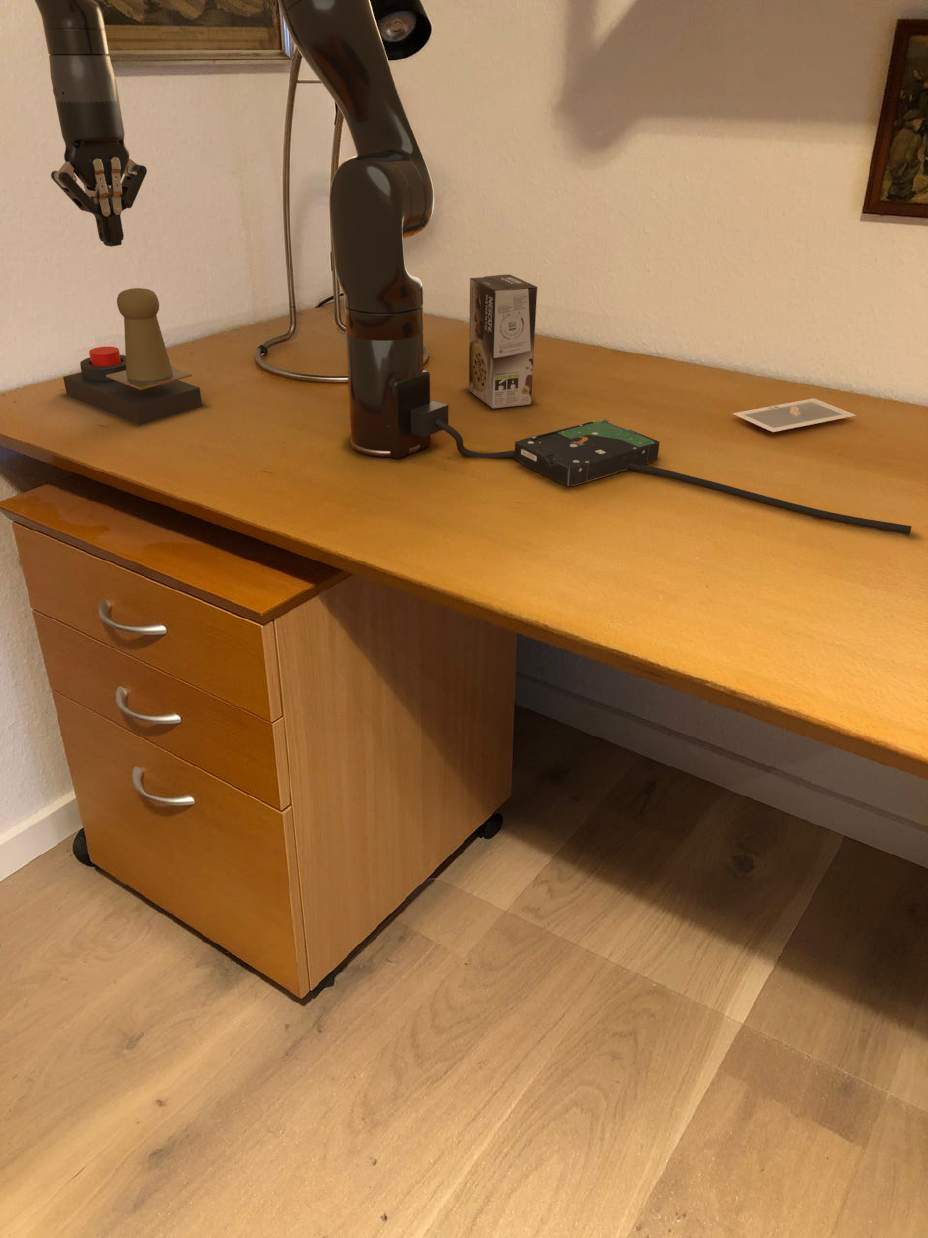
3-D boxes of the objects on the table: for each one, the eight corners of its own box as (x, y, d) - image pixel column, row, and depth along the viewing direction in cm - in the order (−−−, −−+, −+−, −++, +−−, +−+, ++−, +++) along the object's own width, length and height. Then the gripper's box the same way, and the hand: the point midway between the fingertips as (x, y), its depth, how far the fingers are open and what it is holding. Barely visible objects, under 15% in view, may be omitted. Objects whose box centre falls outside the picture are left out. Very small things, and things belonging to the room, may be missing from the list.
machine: (202, 406, 131) (198, 374, 128) (139, 425, 124) (133, 391, 122) (128, 379, 140) (123, 349, 138) (66, 395, 134) (60, 363, 132)
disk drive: (569, 491, 108) (659, 461, 116) (570, 468, 107) (661, 439, 114) (512, 462, 115) (600, 436, 123) (512, 441, 114) (602, 415, 121)
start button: (127, 363, 133) (124, 349, 132) (101, 369, 131) (99, 355, 130) (111, 358, 136) (108, 344, 135) (86, 364, 133) (83, 350, 132)
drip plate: (191, 376, 128) (191, 373, 128) (140, 389, 122) (140, 387, 122) (157, 364, 132) (157, 362, 132) (106, 377, 127) (105, 374, 127)
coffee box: (533, 404, 133) (539, 286, 125) (491, 409, 131) (494, 289, 123) (507, 385, 140) (511, 272, 132) (466, 390, 138) (468, 275, 130)
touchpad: (854, 422, 129) (858, 407, 127) (771, 439, 123) (774, 423, 122) (812, 405, 135) (815, 390, 133) (730, 421, 129) (733, 405, 127)
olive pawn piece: (179, 368, 130) (167, 285, 124) (163, 381, 124) (149, 295, 119) (136, 366, 130) (122, 283, 124) (118, 379, 125) (103, 293, 119)
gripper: (53, 100, 111) (83, 255, 120) (150, 96, 119) (171, 241, 128) (20, 97, 115) (52, 248, 124) (116, 94, 124) (139, 235, 133)
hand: (113, 244), depth 126 cm, fingers closed
